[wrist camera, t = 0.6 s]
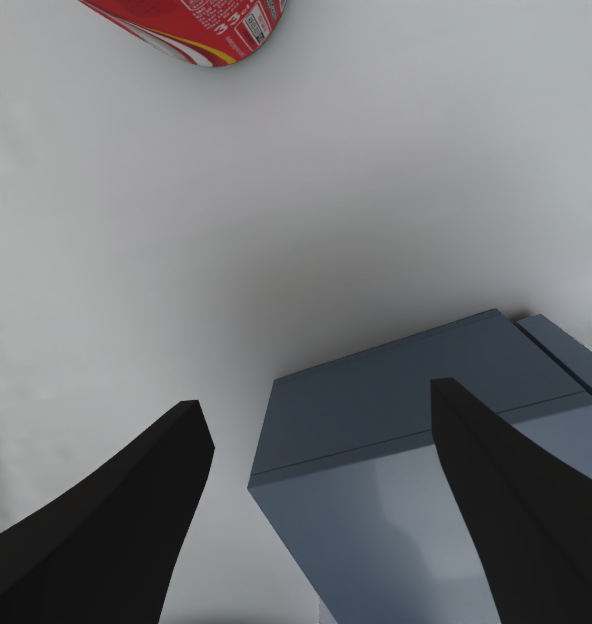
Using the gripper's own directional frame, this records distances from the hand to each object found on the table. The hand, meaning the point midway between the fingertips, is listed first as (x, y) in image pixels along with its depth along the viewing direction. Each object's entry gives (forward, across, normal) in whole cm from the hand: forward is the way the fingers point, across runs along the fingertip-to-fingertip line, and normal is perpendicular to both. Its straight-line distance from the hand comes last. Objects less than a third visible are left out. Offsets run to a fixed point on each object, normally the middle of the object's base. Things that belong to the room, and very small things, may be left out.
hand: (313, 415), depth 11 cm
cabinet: (+10, -4, +9) cm, 14 cm away
